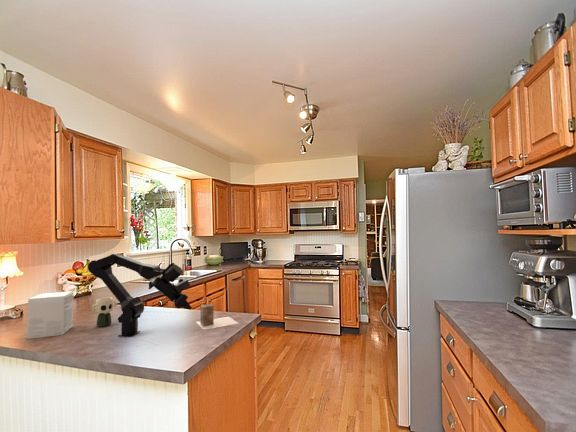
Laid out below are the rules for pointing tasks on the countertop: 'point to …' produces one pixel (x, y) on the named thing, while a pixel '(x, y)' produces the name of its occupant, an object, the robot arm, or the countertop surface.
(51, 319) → the supplement box
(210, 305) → the walnut block
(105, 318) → the big eyed figurine
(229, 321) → the cream board
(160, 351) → the countertop surface
